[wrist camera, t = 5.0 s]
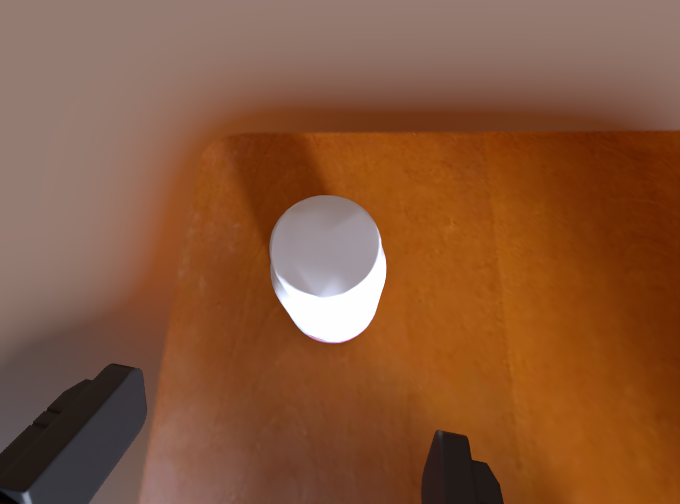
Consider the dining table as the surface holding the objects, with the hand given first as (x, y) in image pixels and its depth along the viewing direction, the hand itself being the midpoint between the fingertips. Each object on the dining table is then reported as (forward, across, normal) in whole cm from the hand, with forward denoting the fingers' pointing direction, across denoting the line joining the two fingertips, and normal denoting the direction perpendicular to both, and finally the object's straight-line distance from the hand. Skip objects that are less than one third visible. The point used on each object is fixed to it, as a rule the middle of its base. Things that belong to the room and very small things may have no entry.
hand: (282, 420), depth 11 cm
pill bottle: (+11, 0, +3) cm, 12 cm away
